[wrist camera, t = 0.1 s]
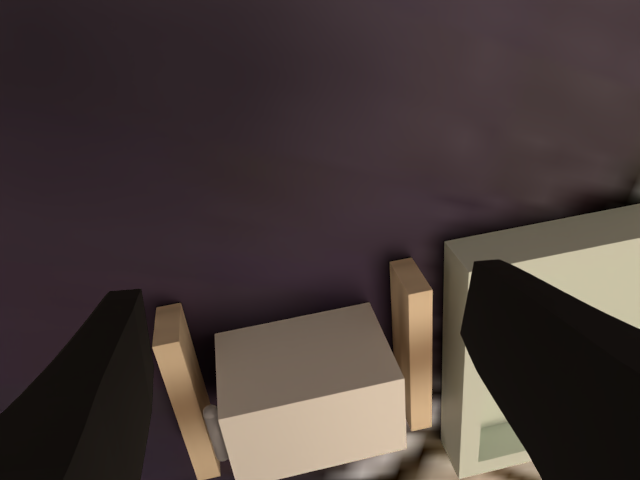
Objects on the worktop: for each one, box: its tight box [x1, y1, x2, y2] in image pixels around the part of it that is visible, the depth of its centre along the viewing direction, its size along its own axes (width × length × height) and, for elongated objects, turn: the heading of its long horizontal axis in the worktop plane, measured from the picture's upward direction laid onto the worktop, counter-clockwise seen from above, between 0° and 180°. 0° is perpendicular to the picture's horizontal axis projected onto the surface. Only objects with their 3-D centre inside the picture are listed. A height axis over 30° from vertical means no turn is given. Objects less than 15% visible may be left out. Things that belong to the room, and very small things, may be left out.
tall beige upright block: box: [203, 302, 407, 480], centre depth 23 cm, size 4×8×5 cm, turn 96°
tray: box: [441, 204, 640, 479], centre depth 27 cm, size 13×13×2 cm
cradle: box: [152, 257, 433, 480], centre depth 24 cm, size 8×11×2 cm
